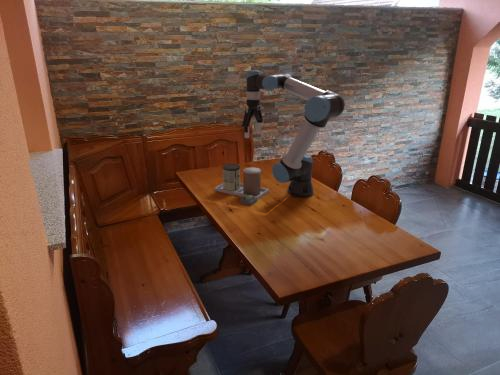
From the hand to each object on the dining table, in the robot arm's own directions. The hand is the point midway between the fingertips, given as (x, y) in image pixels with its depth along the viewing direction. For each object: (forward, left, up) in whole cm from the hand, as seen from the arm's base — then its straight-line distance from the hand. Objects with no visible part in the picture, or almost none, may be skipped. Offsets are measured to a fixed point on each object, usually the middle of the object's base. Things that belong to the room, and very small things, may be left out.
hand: (252, 135), depth 217 cm
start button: (-12, +25, -30) cm, 41 cm away
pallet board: (0, +13, -32) cm, 34 cm away
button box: (-12, +25, -32) cm, 42 cm away
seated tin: (-7, +13, -31) cm, 34 cm away
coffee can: (+7, +13, -31) cm, 34 cm away
